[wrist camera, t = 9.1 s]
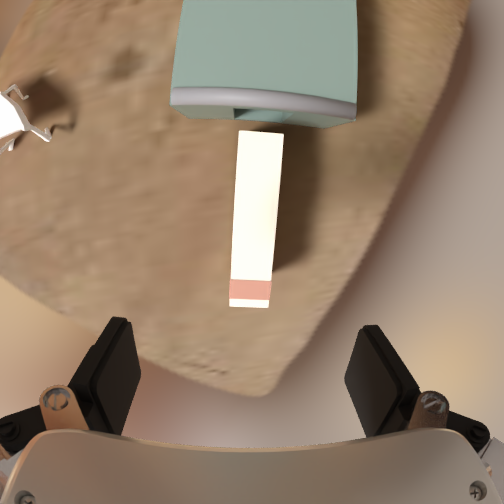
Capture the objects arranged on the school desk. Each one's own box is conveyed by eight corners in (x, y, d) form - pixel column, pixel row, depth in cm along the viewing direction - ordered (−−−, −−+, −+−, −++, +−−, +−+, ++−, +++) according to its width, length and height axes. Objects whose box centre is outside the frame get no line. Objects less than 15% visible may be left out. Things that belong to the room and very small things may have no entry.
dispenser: (206, -23, 18) (198, -69, 10) (327, -11, 19) (353, -52, 11) (188, 118, 23) (167, 103, 16) (324, 128, 24) (359, 119, 16)
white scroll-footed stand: (-9, 157, 22) (-36, 161, 18) (4, 89, 20) (-23, 86, 15) (59, 166, 24) (30, 170, 19) (75, 86, 21) (49, 78, 17)
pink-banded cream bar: (238, 135, 23) (238, 130, 18) (275, 138, 23) (284, 134, 18) (230, 279, 27) (228, 306, 22) (263, 280, 27) (268, 308, 23)
